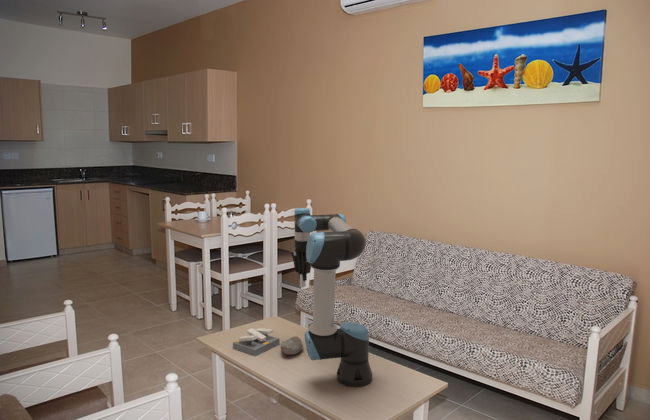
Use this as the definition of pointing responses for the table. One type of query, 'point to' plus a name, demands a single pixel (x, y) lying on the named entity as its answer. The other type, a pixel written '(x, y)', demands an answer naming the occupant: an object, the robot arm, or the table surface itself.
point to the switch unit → (256, 345)
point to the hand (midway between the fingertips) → (302, 286)
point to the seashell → (291, 346)
